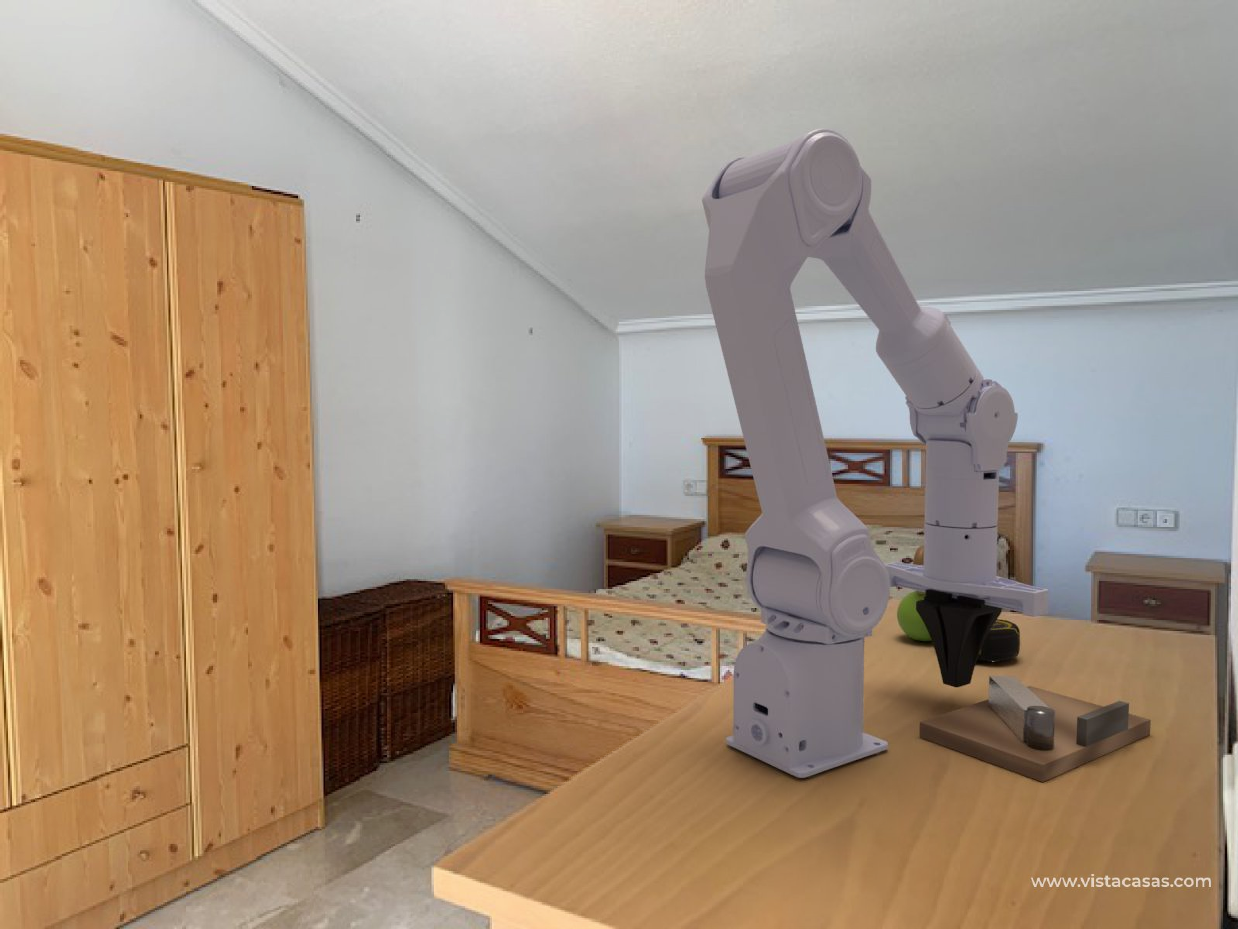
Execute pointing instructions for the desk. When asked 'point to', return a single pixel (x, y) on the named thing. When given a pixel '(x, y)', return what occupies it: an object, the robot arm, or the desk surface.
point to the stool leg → (1022, 711)
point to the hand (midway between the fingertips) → (956, 683)
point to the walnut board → (1076, 742)
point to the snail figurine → (913, 608)
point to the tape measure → (1001, 642)
